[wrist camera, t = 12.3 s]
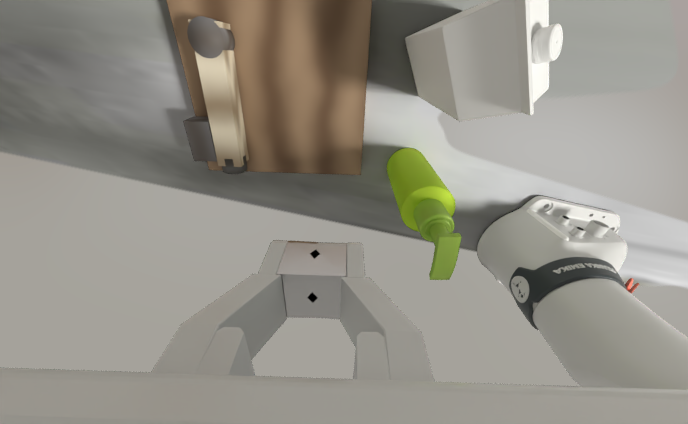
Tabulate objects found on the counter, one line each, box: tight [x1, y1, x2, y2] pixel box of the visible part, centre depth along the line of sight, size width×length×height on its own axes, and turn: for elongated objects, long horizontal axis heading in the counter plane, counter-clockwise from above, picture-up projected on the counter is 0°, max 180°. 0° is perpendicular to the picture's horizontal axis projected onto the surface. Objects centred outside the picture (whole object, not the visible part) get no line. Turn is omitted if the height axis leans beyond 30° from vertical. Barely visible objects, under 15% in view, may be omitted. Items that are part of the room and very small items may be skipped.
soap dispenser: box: [387, 148, 461, 280], centre depth 32 cm, size 6×7×20 cm
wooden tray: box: [167, 0, 372, 175], centre depth 33 cm, size 22×20×6 cm
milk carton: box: [405, 0, 563, 122], centre depth 24 cm, size 7×7×19 cm
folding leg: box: [187, 16, 249, 174], centre depth 32 cm, size 17×4×3 cm, turn 177°
